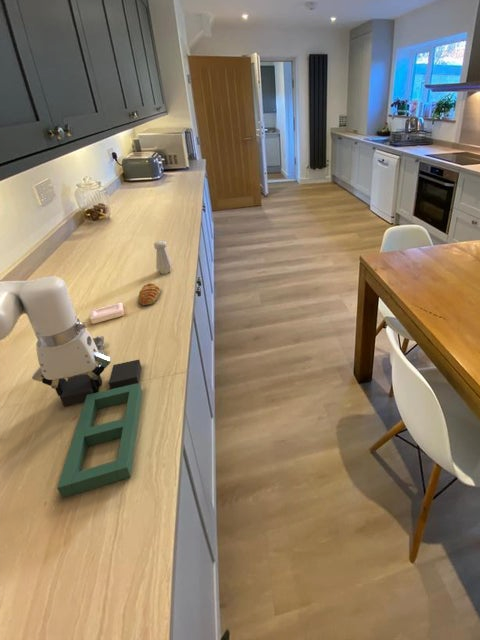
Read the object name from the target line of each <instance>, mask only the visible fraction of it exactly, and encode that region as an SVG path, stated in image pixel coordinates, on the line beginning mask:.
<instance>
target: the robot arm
mask: <svg viewBox="0 0 480 640" xmlns="http://www.w3.org/2000/svg"><path fill="white" fill-rule="evenodd" d="M23 315H26V316H27V318H28V320H29V323H30V325H31V328H32V331H33V332H34V335H35V337H36V339H37V341H36V343H35V346H36V347H35V348H36V356H37V361H38V365H39V367H38V368H37V369H36V370H35V372H34V373H33V375H32V377H31V379H32V380H34V381H36V382H41V383H42V384H44V385H47V386H50V388H51V389H54V390H55V392H56V394H57V396H58V397H59V398H60V397H61V394H62V392H63V390H64V387H65V385H66V382H67V379H66V378H69V377H73V376H78V375H82V374H87V375H89V376H90V377H91V381H90V382H91V385H92V387H93V390H94V392H95V393H98V392H100V387H102V385H103V380H102V377H101V374H103V372H104V371H105V369H106V368H107V367H108V366H109V365H110V364H111V362H112V357H110V356H107V355H105V354H104V355H103V354H100V353H99V352H98V349H97V347H96V345H95V343H94V341H93V339H92V338H93V337H92V335H91V333H90V332H89V331H88V330H87V328H88V323H87V321H80V319H79V317H78V316H77V313H76V310H75V307H74V304H73V301H72V298H71V295H70V292H69V289H68V287H67V284H66V281H65V280H64V279H63V278H61V277H59V276H55V275H54V276H53V275H47V276H42V277H38V278H35V279H33V280H32V279H31V280H3V281H0V341H3V340H4V339H5V338H7V337H8V336H9V335H10V334H11V333H12V331H13V330H14V329H15V327H16V325H17V323H18V321H19V319H20V317H22V316H23ZM95 361H98V362H100V364H99V366H97V365H96V362H95Z"/></svg>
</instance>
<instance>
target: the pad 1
mask: <svg viewBox="0 0 480 640" xmlns="http://www.w3.org/2000/svg"><path fill="white" fill-rule="evenodd" d="M90 381H91V377H90V376H89V375H87V374H86V373H83V374H78V375H74V376H69V377H67V379H66V385H65V387H64V390H63V392H62V394H61V397H60V396H59V399H60V401H61V403H62V406H63V407H64V408H65V407H69V406H75V405H78V404H82V403H83V404H84V402H85V399H86V396H87V395H89V394H93V393H95V392H94V390H93V387H92V385H91V382H90Z"/></svg>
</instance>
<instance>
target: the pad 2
mask: <svg viewBox="0 0 480 640" xmlns="http://www.w3.org/2000/svg"><path fill="white" fill-rule="evenodd" d="M141 375H142V364H141V360H140V359H133V360H130V361H125V362H121V363H116V364H113V365H112V368H111V373H110V377H109V381H108V385H109V388H110V390H111V389H115V388H119V387H123V386H128V385H132V384H137V383H140V382H141Z"/></svg>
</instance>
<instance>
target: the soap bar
mask: <svg viewBox="0 0 480 640" xmlns="http://www.w3.org/2000/svg"><path fill="white" fill-rule="evenodd" d="M124 309H125V308H124V304H123V302H117V303H113V304H109V305H106V306H102V307H98V308H97V307H96V308H93V309H90V310H89V320H90V323H91V324H93V325H94V324H98V323H102V322H105V321H108V320H112V319H116V318H120V317H123V316H124V315H125V310H124Z"/></svg>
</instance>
